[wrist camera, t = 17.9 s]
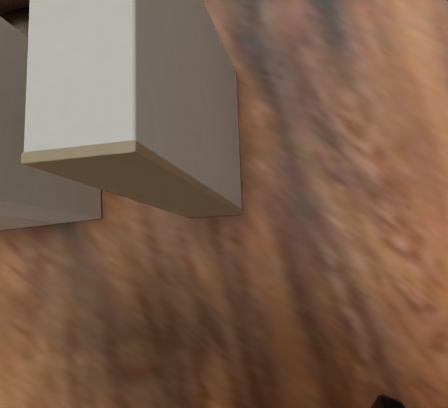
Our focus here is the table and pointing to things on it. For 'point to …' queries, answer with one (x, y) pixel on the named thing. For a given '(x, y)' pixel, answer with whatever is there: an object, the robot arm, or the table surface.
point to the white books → (14, 146)
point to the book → (134, 102)
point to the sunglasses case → (12, 5)
